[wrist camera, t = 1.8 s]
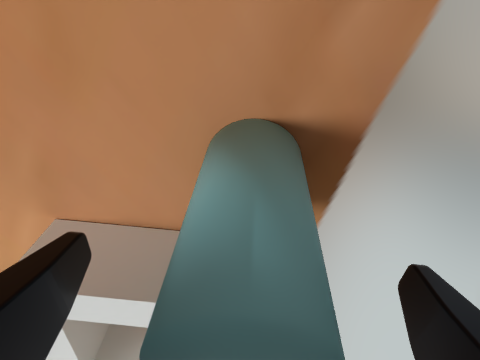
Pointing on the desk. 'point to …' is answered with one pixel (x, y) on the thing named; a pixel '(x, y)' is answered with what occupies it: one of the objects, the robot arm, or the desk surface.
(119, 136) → the desk surface
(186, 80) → the desk surface
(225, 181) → the peg
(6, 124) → the desk surface
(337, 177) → the desk surface
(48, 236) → the socket
